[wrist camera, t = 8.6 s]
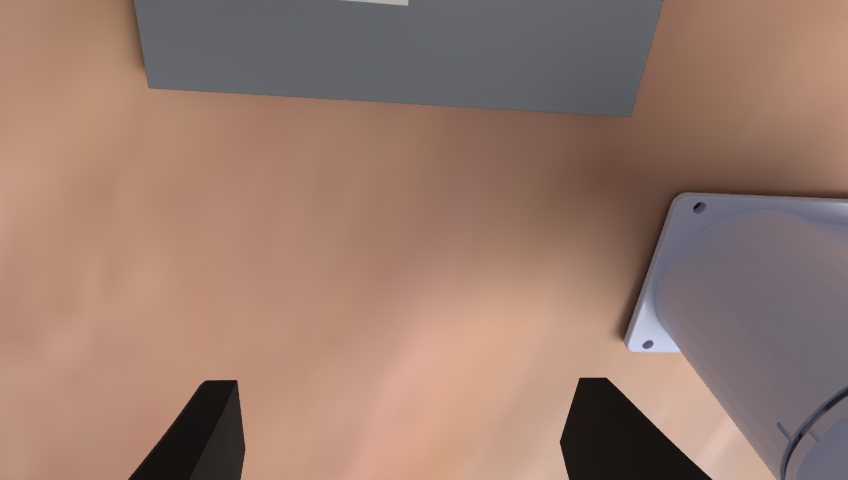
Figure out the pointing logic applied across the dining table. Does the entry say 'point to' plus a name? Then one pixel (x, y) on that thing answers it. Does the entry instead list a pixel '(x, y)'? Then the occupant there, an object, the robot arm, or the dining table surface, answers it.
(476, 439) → the dining table surface
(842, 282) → the robot arm
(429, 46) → the gray board
